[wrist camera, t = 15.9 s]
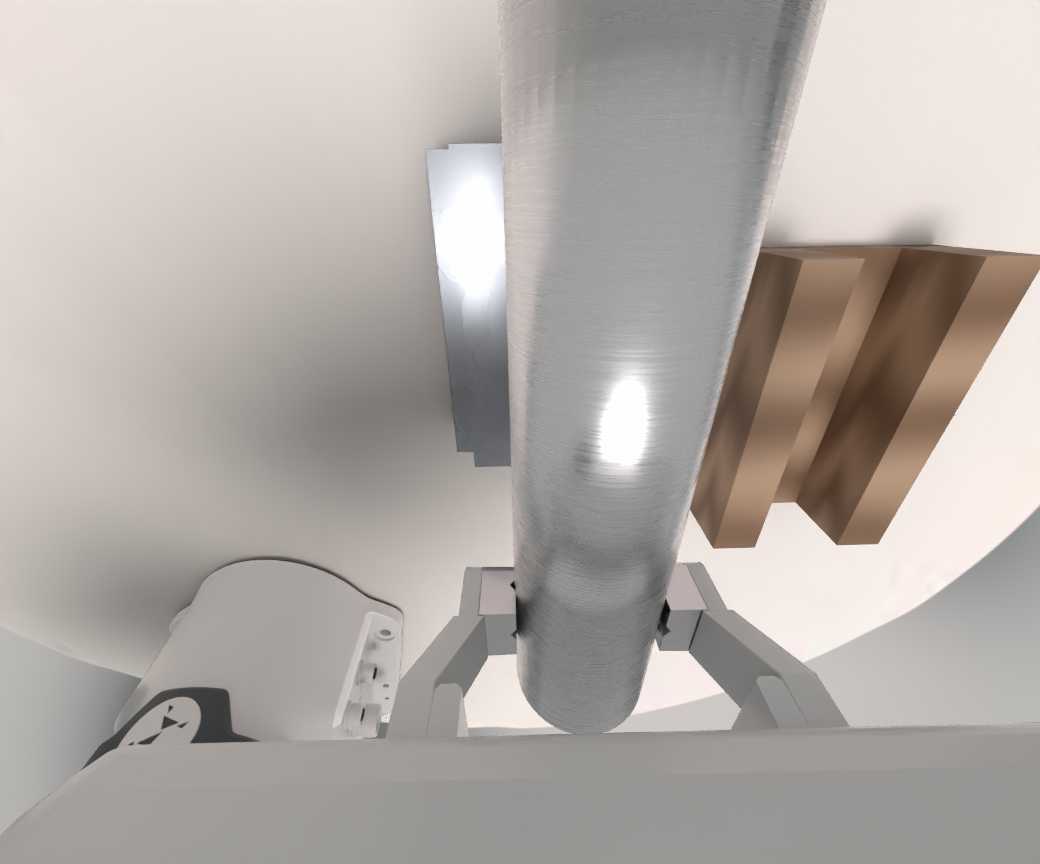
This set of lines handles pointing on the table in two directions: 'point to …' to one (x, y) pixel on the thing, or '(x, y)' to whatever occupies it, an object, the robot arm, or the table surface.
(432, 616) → the table surface
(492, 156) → the v block
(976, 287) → the wooden channel cradle
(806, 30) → the axle
